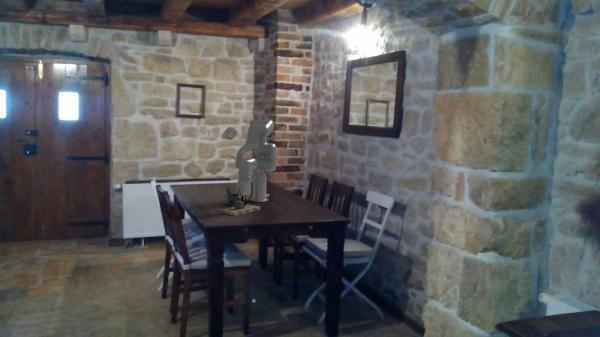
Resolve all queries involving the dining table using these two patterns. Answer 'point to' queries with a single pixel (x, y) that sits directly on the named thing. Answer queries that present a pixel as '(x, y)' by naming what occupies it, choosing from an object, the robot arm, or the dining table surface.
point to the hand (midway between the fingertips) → (243, 205)
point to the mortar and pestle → (232, 197)
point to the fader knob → (239, 204)
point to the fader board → (240, 210)
